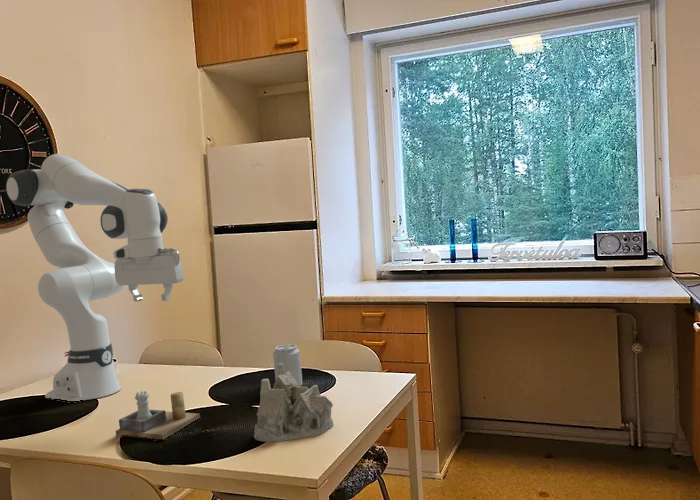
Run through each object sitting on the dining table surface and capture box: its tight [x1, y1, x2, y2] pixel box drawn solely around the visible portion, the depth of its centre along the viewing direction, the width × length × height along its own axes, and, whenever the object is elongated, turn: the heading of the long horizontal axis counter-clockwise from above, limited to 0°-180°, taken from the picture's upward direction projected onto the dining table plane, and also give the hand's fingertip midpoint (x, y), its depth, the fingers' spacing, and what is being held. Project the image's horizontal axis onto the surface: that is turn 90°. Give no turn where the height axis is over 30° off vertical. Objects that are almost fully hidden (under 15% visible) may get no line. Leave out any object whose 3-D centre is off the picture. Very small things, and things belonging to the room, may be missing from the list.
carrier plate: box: [115, 391, 201, 440], centre depth 151 cm, size 14×14×8 cm
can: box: [272, 343, 303, 387], centre depth 176 cm, size 8×8×12 cm
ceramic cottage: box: [253, 363, 335, 443], centre depth 142 cm, size 16×16×15 cm
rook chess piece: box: [134, 390, 152, 420], centre depth 150 cm, size 4×4×8 cm
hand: (152, 300), depth 166 cm, fingers open, 8 cm apart
